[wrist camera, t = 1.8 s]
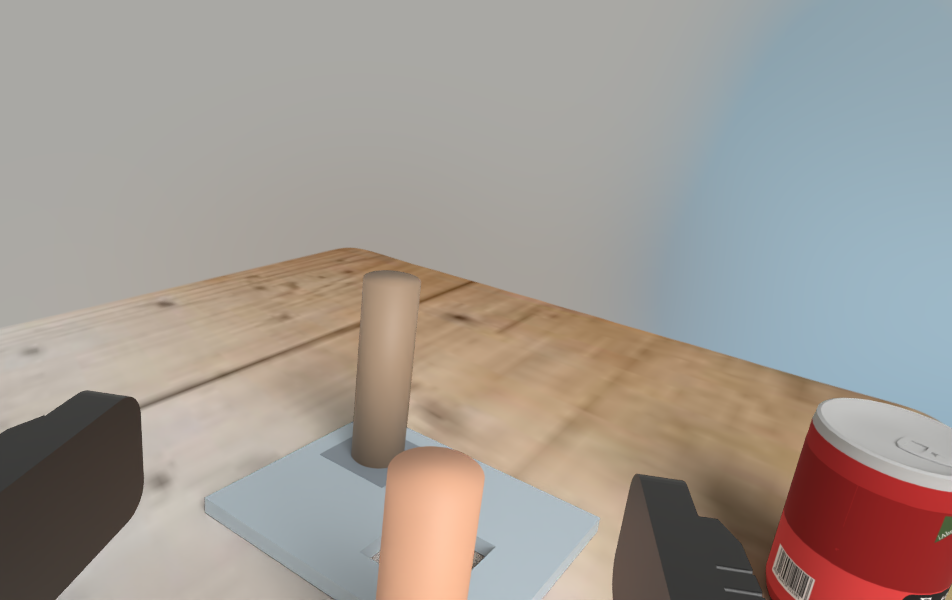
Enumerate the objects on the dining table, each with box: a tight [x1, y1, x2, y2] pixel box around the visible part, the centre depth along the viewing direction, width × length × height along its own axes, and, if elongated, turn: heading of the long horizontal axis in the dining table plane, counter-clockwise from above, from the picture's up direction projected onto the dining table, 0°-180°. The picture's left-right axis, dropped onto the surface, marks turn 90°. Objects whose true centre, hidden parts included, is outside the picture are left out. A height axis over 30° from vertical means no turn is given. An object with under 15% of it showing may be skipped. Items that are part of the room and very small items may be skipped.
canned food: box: [766, 398, 952, 600], centre depth 35 cm, size 8×8×11 cm
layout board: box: [205, 270, 600, 600], centre depth 37 cm, size 18×14×13 cm
